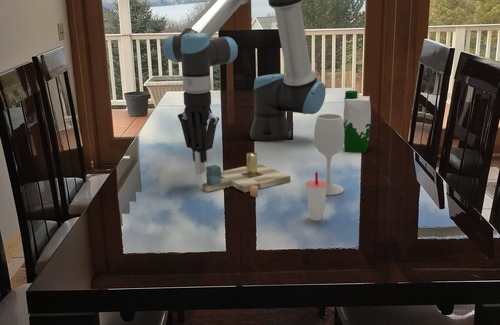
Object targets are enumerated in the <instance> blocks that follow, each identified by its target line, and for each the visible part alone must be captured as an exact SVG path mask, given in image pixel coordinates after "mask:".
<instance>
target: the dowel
mask: <svg viewBox="0 0 500 325" xmlns="http://www.w3.org/2000/svg"><path fill="white" fill-rule="evenodd" d="M258 191H259V189H258V186H250V191H249V192H250V196H249V197H251V196H252V197H251V198H257V197H258V196H259V195H258V194H259V193H258Z"/></svg>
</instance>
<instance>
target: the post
mask: <svg viewBox="0 0 500 325" xmlns="http://www.w3.org/2000/svg"><path fill="white" fill-rule="evenodd" d="M257 164H258V153H257V152H247V153H246V166H247V177H248V178H253V177H257Z"/></svg>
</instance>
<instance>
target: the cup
mask: <svg viewBox="0 0 500 325" xmlns="http://www.w3.org/2000/svg"><path fill="white" fill-rule="evenodd" d="M318 174H319V173H318V171H315V173H314V175H315V178H314V179H315V180H309V181H306V182H305V187H306V197H307V198H306V199H307V200H306V201H307V210H308V219H309V220H311V221H315V222H318V221H322V220H323V219H324V213H325V208H326V207H325V206H326V197H327V195H326V191H327V185H328V183H326V181H323V180H319V175H318Z"/></svg>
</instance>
